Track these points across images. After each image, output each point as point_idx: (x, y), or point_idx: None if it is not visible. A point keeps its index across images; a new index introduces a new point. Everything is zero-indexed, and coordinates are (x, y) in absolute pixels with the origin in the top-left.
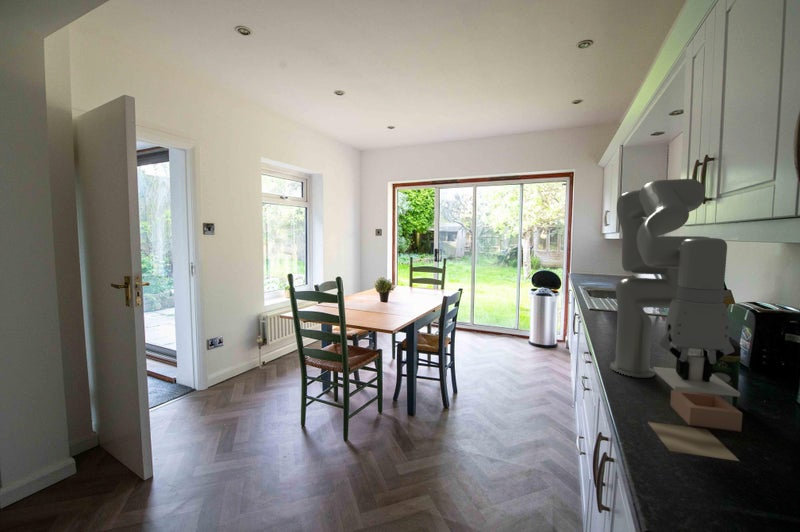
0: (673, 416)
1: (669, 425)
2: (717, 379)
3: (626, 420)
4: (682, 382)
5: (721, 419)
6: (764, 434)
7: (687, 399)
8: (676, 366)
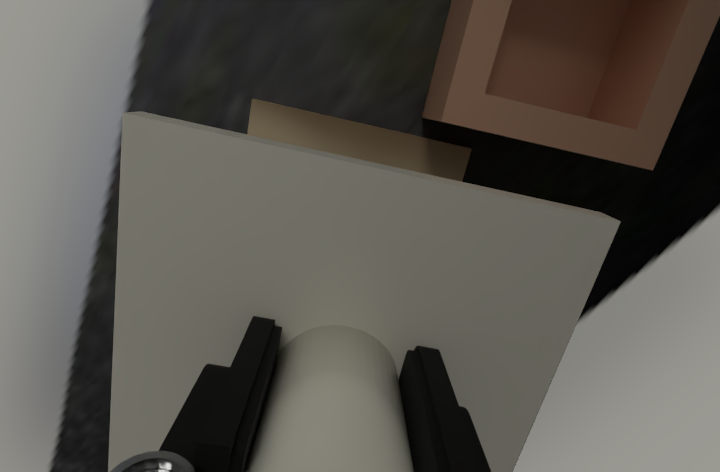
0: (425, 11)
1: (333, 127)
2: (525, 381)
3: (175, 68)
4: None
5: (552, 147)
6: (683, 152)
7: (502, 14)
8: (187, 402)
